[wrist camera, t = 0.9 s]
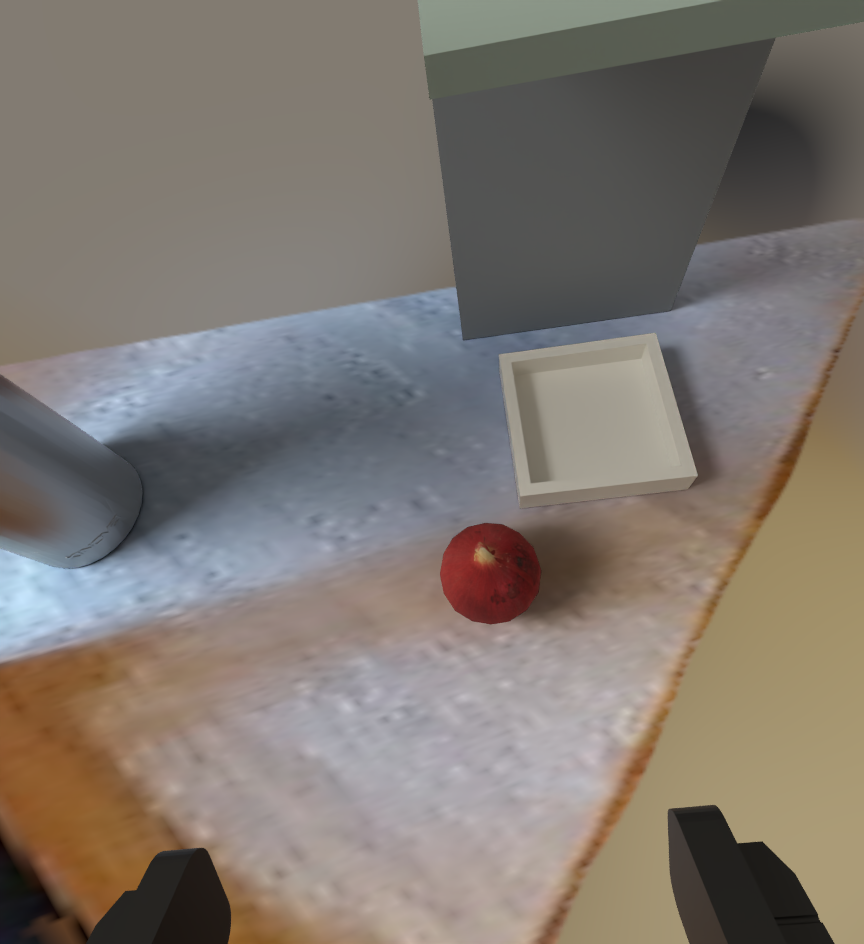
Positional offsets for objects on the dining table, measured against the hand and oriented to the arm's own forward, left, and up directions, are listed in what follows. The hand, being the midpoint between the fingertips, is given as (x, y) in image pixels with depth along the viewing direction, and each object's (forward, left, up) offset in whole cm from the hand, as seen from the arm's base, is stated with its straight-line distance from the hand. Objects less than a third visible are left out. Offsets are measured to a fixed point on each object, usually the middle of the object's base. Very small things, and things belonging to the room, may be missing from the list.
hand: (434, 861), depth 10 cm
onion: (-7, +8, -25) cm, 27 cm away
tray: (-10, +21, -25) cm, 34 cm away
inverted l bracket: (-13, +23, -25) cm, 37 cm away
